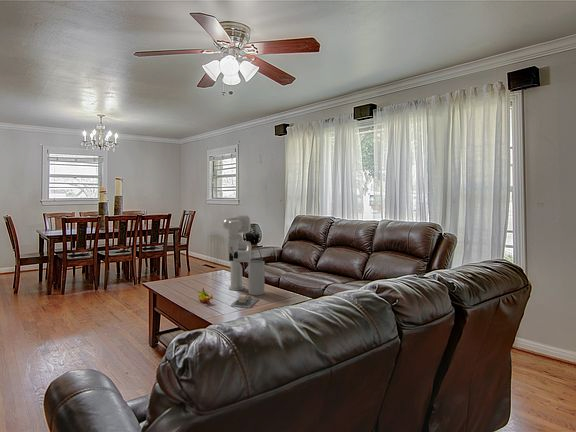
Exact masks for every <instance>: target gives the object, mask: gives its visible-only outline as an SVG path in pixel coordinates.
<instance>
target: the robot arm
mask: <svg viewBox="0 0 576 432" xmlns="http://www.w3.org/2000/svg"><path fill="white" fill-rule="evenodd" d="M251 227H252V225H251V219H250V216H249V215H245V214H244V215H243V214H242V215H238V214H237V215H234V216H233V217H230V218H226V219H224V220H223V229H224V230H226V231H227V230H228V242H227V243H228V244H227V252H228V260H229V262H230V285H229V286H228V290H231V291H241V290H244V289H245V286H243V283H244V282H243V266H242V264H241V263H249V261H252V260H251V259H252V243H251V242H250V241H249V240H248V241H247V240H244V238H243V236H242V235H241V234H248V233H251V229H252V228H251Z"/></svg>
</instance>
